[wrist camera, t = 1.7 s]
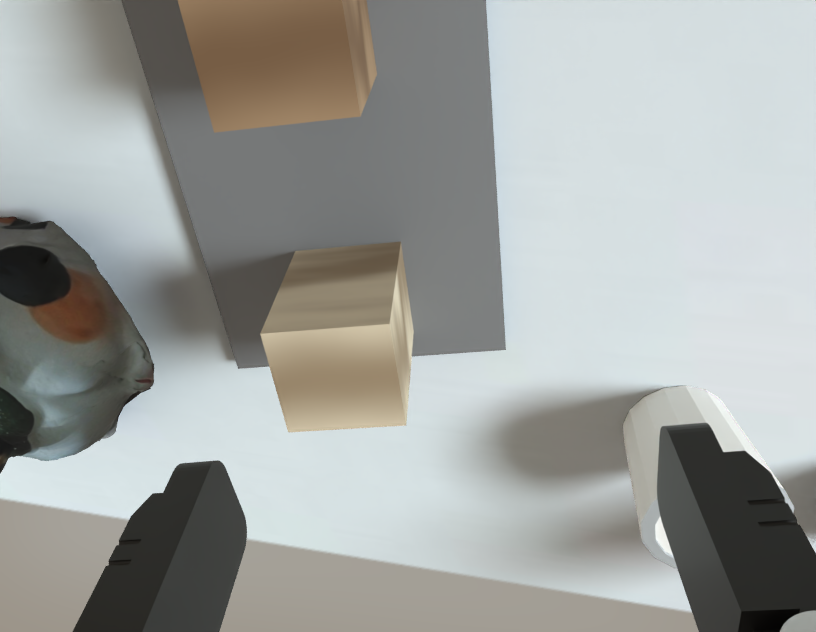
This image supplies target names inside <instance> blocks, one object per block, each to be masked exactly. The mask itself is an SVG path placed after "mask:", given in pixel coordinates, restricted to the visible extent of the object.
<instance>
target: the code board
mask: <svg viewBox="0 0 816 632" xmlns="http://www.w3.org/2000/svg"><path fill="white" fill-rule="evenodd" d="M122 3H123V6H124V10H125V13H126V16H127V19H128V22H129V25H130V29H131V32H132V35H133V38H134V41H135V44H136V48H137V51H138V54H139V57H140V60H141V63H142V66H143V70H144V73H145V76H146V79H147V82H148V85H149V89H150V92H151V95H152V98H153V101H154V104H155V107H156V111H157V114H158V117H159V120H160V123H161V126H162V130H163V133H164V136H165V139H166V142H167V145H168V149H169V152H170V155H171V158H172V161H173V164H174V167H175V171H176V174H177V177H178V180H179V183H180V186H181V190H182V193H183V196H184V199H185V202H186V205H187V208H188V212H189V215H190V218H191V221H192V224H193V227H194V231H195V234H196V237H197V240H198V243H199V246H200V250H201V253H202V256H203V259H204V262H205V265H206V268H207V272H208V275H209V278H210V281H211V284H212V287H213V291H214V294H215V297H216V300H217V303H218V306H219V309H220V313H221V316H222V319H223V322H224V325H225V328H226V332H227V335H228V338H229V341H230V344H231V347H232V351H233V354H234V357H235V360H236V363H237V366H238V369H239V368H254V367H268V366H269V363H268V359H267V356H266V352H265V349H264V345H263V342H262V338H261V335H260V333H261V331H262V328H263V326H264V324H265V321H266V319H267V317H268V314H269V312H270V310H271V307H272V305H273V303H274V300H275V298H276V296H277V293H278V291H279V288H280V286H281V284H282V281H283V279H284V277H285V274H286V272H287V270H288V267H289V265H290V263H291V260H292V258H293V256H294V253H295V251H301V250H312V249H324V248H335V247H346V246H357V245H368V244H380V243H391V242H401V246H402V253H403V260H404V267H405V274H406V281H407V288H408V295H409V302H410V309H411V316H412V323H413V330H414V334H413V347H412V356H424V355H438V354H452V353H467V352H481V351H495V350H506V346H505V329H504V311H503V294H502V276H501V259H500V241H499V224H498V206H497V189H496V171H495V154H494V136H493V119H492V101H491V84H490V66H489V49H488V31H487V14H486V0H367V7H368V14H369V21H370V28H371V35H372V42H373V49H374V56H375V63H376V70H377V76H376V78H375V81H374V83H373V86H372V88H371V91H370V94H369V96H368V99H367V101H366V104H365V106H364V109H363V111H362V114H361V116H360V117H351V118H342V119H333V120H324V121H315V122H306V123H297V124H288V125H279V126H270V127H260V128H251V129H242V130H233V131H224V132H215V133H214V130H213V127H212V123H211V119H210V116H209V112H208V108H207V105H206V101H205V98H204V94H203V90H202V87H201V83H200V80H199V76H198V72H197V69H196V65H195V62H194V58H193V54H192V51H191V47H190V43H189V40H188V36H187V33H186V29H185V25H184V22H183V18H182V15H181V11H180V7H179V4H178V0H122Z"/></svg>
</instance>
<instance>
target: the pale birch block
mask: <svg viewBox="0 0 816 632" xmlns="http://www.w3.org/2000/svg"><path fill="white" fill-rule="evenodd" d="M413 334H414V330H413V323H412V316H411V309H410V302H409V295H408V288H407V281H406V274H405V267H404V260H403V253H402V246H401V242H391V243H380V244H368V245H357V246H346V247H335V248H324V249H312V250H301V251H295V253H294V256H293V258H292V260H291V263H290V265H289V267H288V270H287V272H286V274H285V277H284V279H283V281H282V284H281V286H280V288H279V291H278V293H277V296H276V298H275V300H274V303H273V305H272V307H271V310H270V312H269V314H268V317H267V319H266V321H265V324H264V326H263V328H262V331H261V333H260V335H261V338H262V342H263V345H264V349H265V352H266V356H267V359H268V363H269V366H270V370H271V373H272V377H273V380H274V384H275V387H276V391H277V394H278V398H279V401H280V405H281V408H282V412H283V415H284V419H285V422H286V426H287V429H288V432H303V431H319V430H336V429H353V428H370V427H387V426H404V425H406V421H407V409H408V396H409V384H410V371H411V359H412V347H413Z"/></svg>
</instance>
